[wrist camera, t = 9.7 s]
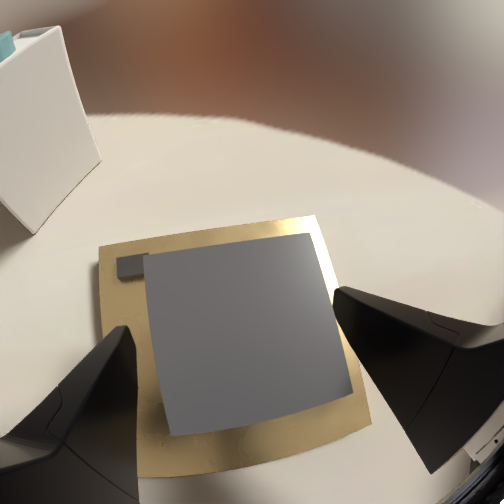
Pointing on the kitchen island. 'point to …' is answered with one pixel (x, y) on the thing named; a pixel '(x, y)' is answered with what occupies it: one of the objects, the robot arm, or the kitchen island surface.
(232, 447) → the socket
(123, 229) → the kitchen island surface
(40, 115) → the soap bottle
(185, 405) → the plug
